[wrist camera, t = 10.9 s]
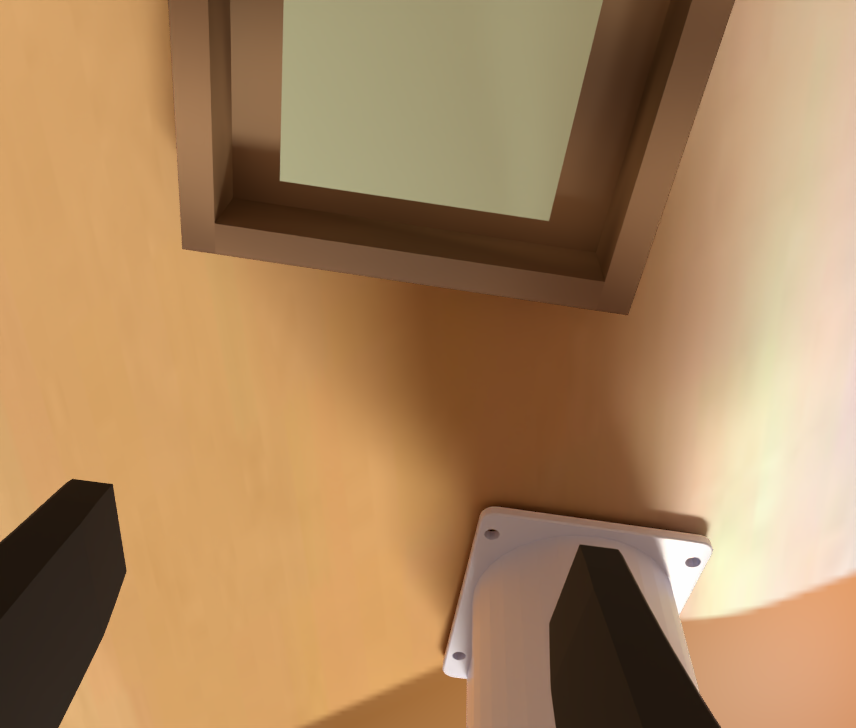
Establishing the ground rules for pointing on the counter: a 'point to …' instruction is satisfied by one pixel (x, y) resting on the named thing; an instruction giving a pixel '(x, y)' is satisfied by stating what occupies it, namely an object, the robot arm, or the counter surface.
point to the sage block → (434, 98)
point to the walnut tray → (431, 223)
